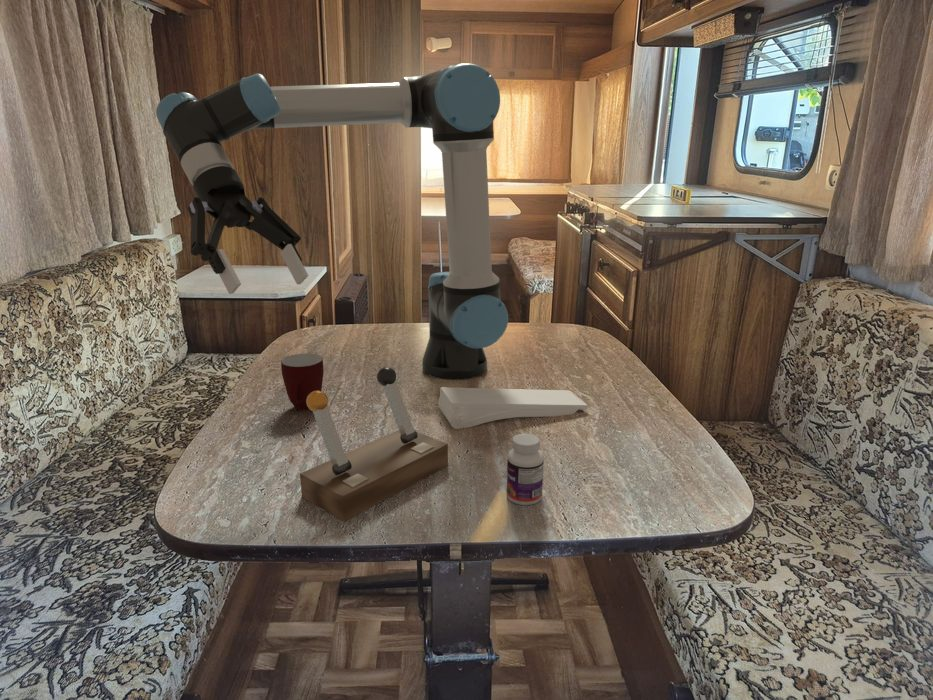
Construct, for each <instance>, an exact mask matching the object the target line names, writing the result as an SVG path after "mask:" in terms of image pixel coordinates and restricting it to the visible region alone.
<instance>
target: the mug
mask: <svg viewBox="0 0 933 700" xmlns="http://www.w3.org/2000/svg"><path fill="white" fill-rule="evenodd" d="M280 367H281V368H280V369H281V376H282V379H283V384H284V387H285V390H286V394H287V398H288V399H289V401H290V403H292V405H293V406H294V408H295V409H296V410H298V411H311V410H310V409H309V408H308V406H307V403H306V400H307V397H308V395H309V394H310V393H311V392H313V391H322V390H323V388H322V387H323V381H324V372H325V371H324V359H323V357H322V355H319V354H316V353H315V354H314V353H297V354H291V355H289V356H286V357H284V358H282V359H281V361H280ZM322 392H323V391H322Z"/></svg>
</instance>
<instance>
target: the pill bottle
mask: <svg viewBox="0 0 933 700" xmlns="http://www.w3.org/2000/svg"><path fill="white" fill-rule="evenodd" d="M540 445H541V444H540V438H539V436H537V435H535V434H532V433H524V432H522V433H518V434H516V435H514V436H513V437H512V448H511V450H509V451H508V453H507V462H506V465H507V466H506V470H507V471H506V496H507V498H508V499H509V501H511V503H514V504H516V505H521V506H530V505H534V504H537V503H539V502H540V501H541V500H542V498H543V483H544V463H545V462H544V461H545V460H544V459H545V458H544V454H543V452H542V451H541V450H540V447H541V446H540Z"/></svg>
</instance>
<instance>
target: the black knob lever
mask: <svg viewBox="0 0 933 700" xmlns="http://www.w3.org/2000/svg"><path fill="white" fill-rule="evenodd" d="M376 379H377V382H378V383H379V385H380V386H382V388H383V390H384V394H385V396H386V398H387V401H388V404H389V407H390V409H391V412H392V415H393V418H394V420H395V423H396V425H397V428H398V430H399V431H400V434H401V436H400V439H401V441H402V443H404V444H406V443H408V442H410V441H412V440H414V439H416V438H417V437H418V435H417V432H418V431H417V432H416V430H415V429H414V426H413V424H412V421H411V419H410V415H409V413H408V410H407V408H406V407H407V406H405V402H404V400H403V396H402V394H401V392H400V389H399V386H398V384H397V373H396V371H395V370H394V368H391V367H389V366H385V367H382V368H380V369H379V370H378V371H377V374H376Z"/></svg>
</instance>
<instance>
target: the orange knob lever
mask: <svg viewBox="0 0 933 700" xmlns="http://www.w3.org/2000/svg"><path fill="white" fill-rule="evenodd" d="M306 403H307V406H308V408H309V409H310V410H309V411H312V413H313V416H314V419H315V420H316V423H317V426H318V429H319V432H320V434H321V437H322V440H323V443H324V445H325V449H326V451H327V454H328V456H329V459H330V460H331V462H332V465H333V466H332V471H333V473H334V474H335V475H339V474H341V473H343V472H346V471H348V470H350V469H351V468H352V465H351V462H350V461H349V460H348V459H347V457H346V455H345V453H346V452H345V449H344V447H343V444H342V441H341V439H340V436H339V433H338V430H337V428H336V426H335V423H334V420H333V417H332V415H331V412H330V409H329V407H328V405H329V398H328V395H327V394H326V393H325V392H323V391H313V392H311V393H310V394H309V395H308V397H307V400H306Z"/></svg>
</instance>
